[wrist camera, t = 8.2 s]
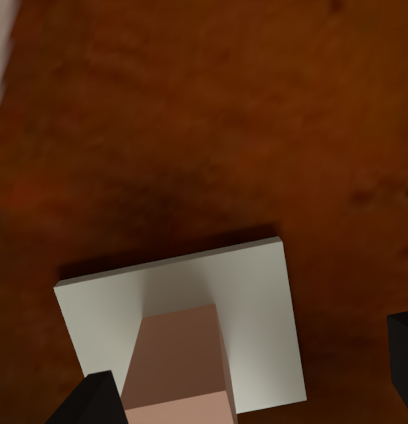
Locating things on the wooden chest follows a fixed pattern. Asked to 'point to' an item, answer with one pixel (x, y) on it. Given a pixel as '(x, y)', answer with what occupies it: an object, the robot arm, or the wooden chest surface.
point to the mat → (191, 298)
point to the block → (180, 371)
